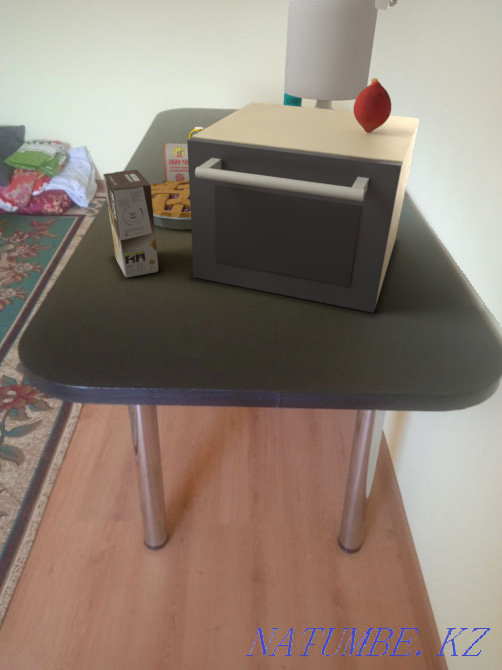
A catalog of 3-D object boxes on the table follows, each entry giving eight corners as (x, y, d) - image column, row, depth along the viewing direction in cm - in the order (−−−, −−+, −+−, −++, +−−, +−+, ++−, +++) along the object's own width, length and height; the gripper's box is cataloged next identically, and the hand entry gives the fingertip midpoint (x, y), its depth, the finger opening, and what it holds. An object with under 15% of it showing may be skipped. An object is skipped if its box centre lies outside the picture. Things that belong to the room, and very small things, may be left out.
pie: (127, 231, 108) (124, 208, 105) (148, 194, 125) (146, 174, 123) (232, 235, 107) (232, 212, 104) (237, 197, 125) (237, 177, 122)
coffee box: (160, 272, 93) (152, 184, 84) (125, 278, 91) (113, 190, 82) (146, 251, 100) (137, 168, 91) (113, 257, 98) (101, 172, 89)
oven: (375, 308, 85) (403, 161, 71) (197, 273, 93) (191, 136, 80) (395, 240, 107) (419, 118, 93) (249, 217, 115) (252, 102, 101)
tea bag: (167, 181, 134) (164, 141, 128) (193, 181, 134) (191, 141, 128) (166, 186, 130) (162, 145, 125) (192, 186, 131) (190, 146, 125)
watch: (188, 148, 159) (187, 128, 155) (191, 145, 161) (190, 125, 158) (206, 150, 158) (206, 129, 154) (209, 147, 160) (209, 127, 156)
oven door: (367, 332, 79) (396, 178, 65) (179, 292, 87) (169, 149, 74) (375, 308, 85) (402, 162, 71) (197, 273, 93) (191, 137, 79)
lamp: (367, 162, 150) (392, -3, 127) (335, 182, 136) (356, -1, 112) (302, 149, 160) (315, -6, 137) (265, 166, 145) (272, -5, 122)
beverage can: (298, 141, 168) (301, 91, 159) (280, 140, 168) (283, 90, 160) (299, 137, 172) (303, 88, 164) (282, 136, 173) (285, 87, 164)
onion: (384, 128, 86) (393, 75, 81) (388, 137, 81) (398, 82, 77) (349, 127, 86) (356, 74, 82) (351, 136, 82) (358, 80, 77)
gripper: (424, -135, 57) (400, 12, 65) (435, -110, 73) (414, 5, 81) (367, -133, 59) (351, 10, 67) (389, -110, 75) (374, 4, 83)
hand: (386, 7), depth 74 cm, fingers open, 8 cm apart
